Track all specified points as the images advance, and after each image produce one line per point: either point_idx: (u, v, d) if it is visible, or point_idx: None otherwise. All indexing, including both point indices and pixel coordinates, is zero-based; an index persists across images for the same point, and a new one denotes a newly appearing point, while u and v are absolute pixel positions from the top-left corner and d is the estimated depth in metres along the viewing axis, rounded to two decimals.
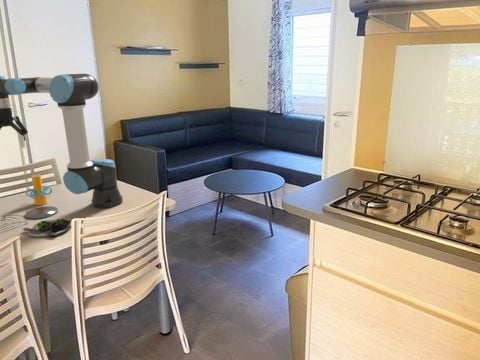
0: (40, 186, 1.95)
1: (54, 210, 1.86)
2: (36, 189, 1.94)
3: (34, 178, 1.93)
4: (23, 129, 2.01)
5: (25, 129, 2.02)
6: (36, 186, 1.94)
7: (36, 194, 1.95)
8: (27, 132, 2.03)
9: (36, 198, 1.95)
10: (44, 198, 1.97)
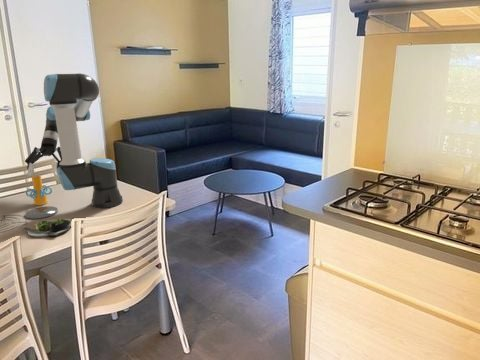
0: (40, 186, 1.95)
1: (54, 210, 1.86)
2: (36, 189, 1.94)
3: (34, 178, 1.93)
4: (60, 157, 2.05)
5: (61, 157, 2.05)
6: (36, 186, 1.94)
7: (36, 194, 1.95)
8: None
9: (36, 198, 1.95)
10: (44, 198, 1.97)
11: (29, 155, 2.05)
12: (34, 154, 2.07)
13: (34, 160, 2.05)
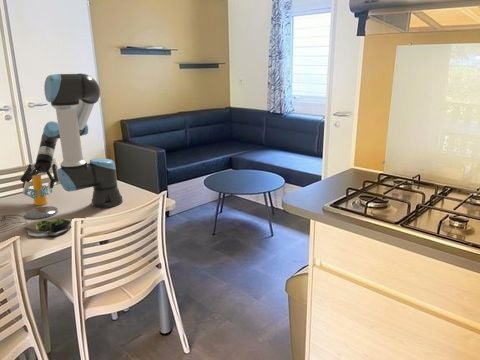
0: (40, 186, 1.95)
1: (54, 210, 1.86)
2: (36, 189, 1.94)
3: (34, 178, 1.93)
4: None
5: (55, 176, 1.98)
6: (36, 186, 1.94)
7: (36, 194, 1.95)
8: (56, 179, 1.97)
9: (36, 198, 1.95)
10: (44, 198, 1.97)
11: (24, 173, 1.98)
12: (29, 171, 2.00)
13: (30, 178, 1.98)
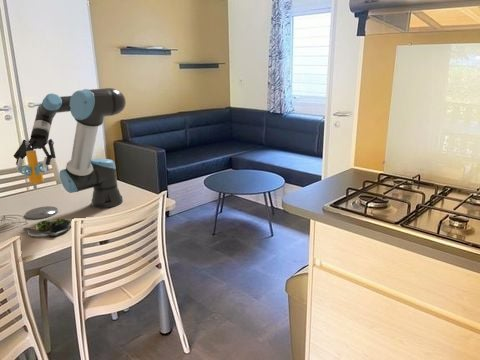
0: (35, 162, 1.77)
1: (54, 210, 1.86)
2: (31, 166, 1.77)
3: (28, 153, 1.75)
4: (50, 151, 1.80)
5: (52, 152, 1.80)
6: (31, 162, 1.76)
7: (31, 171, 1.77)
8: (52, 155, 1.79)
9: (31, 176, 1.77)
10: (40, 176, 1.79)
11: (18, 149, 1.80)
12: (23, 147, 1.82)
13: (24, 154, 1.80)
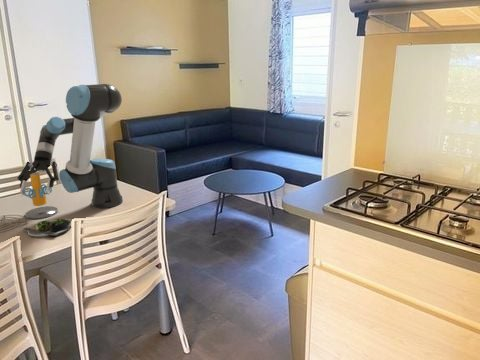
0: (39, 185, 1.81)
1: (54, 210, 1.86)
2: (35, 188, 1.80)
3: (32, 176, 1.78)
4: None
5: (55, 174, 1.83)
6: (34, 185, 1.79)
7: (35, 194, 1.80)
8: (56, 177, 1.83)
9: (35, 198, 1.80)
10: (43, 198, 1.82)
11: None
12: (27, 169, 1.85)
13: (28, 177, 1.84)
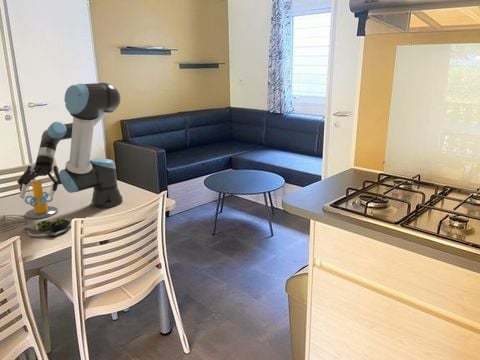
0: (40, 193, 1.81)
1: (54, 210, 1.86)
2: (36, 196, 1.81)
3: (34, 184, 1.79)
4: None
5: (58, 178, 1.84)
6: (36, 193, 1.80)
7: (36, 202, 1.81)
8: (59, 181, 1.83)
9: (36, 206, 1.81)
10: (45, 206, 1.83)
11: (22, 175, 1.84)
12: (28, 174, 1.86)
13: (28, 181, 1.84)
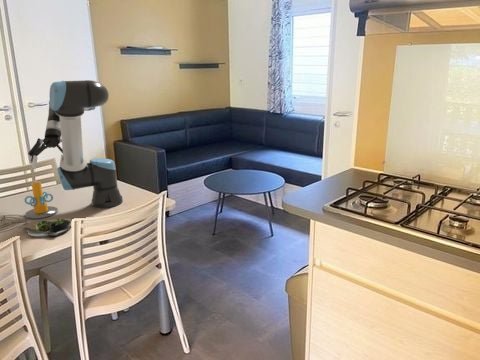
0: (40, 193, 1.81)
1: (54, 210, 1.86)
2: (36, 196, 1.81)
3: (34, 184, 1.79)
4: None
5: None
6: (36, 193, 1.80)
7: (36, 202, 1.81)
8: None
9: (36, 206, 1.81)
10: (44, 206, 1.83)
11: None
12: (38, 146, 1.96)
13: (38, 152, 1.95)
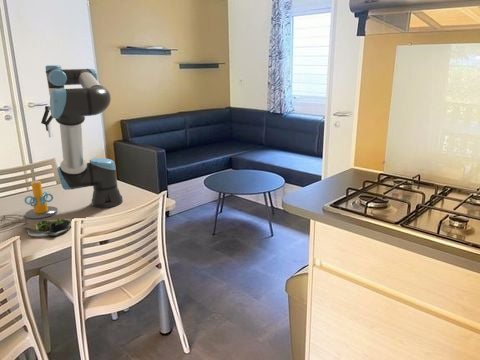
0: (40, 193, 1.81)
1: (54, 210, 1.86)
2: (36, 196, 1.81)
3: (34, 184, 1.79)
4: None
5: None
6: (36, 193, 1.80)
7: (36, 202, 1.81)
8: None
9: (36, 206, 1.81)
10: (44, 206, 1.83)
11: (43, 116, 2.00)
12: (47, 113, 2.01)
13: (50, 120, 2.02)
